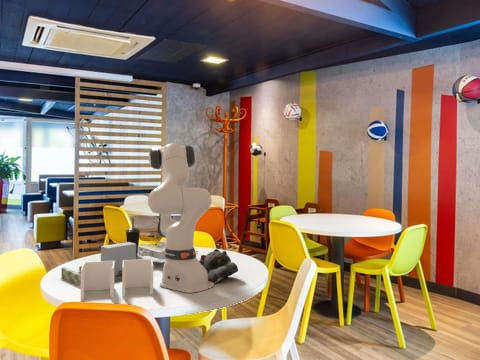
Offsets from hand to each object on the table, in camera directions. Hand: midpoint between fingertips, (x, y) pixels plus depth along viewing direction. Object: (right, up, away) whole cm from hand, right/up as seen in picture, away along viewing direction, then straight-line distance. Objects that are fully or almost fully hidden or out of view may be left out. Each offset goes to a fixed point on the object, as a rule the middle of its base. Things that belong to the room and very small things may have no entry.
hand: (140, 254), depth 183 cm
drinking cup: (-10, -5, +22) cm, 25 cm away
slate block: (-8, -6, -8) cm, 13 cm away
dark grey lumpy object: (+38, -7, -18) cm, 43 cm away
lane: (-14, -6, -15) cm, 21 cm away
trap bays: (-12, -6, -13) cm, 19 cm away
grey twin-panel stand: (+1, -8, -37) cm, 38 cm away
